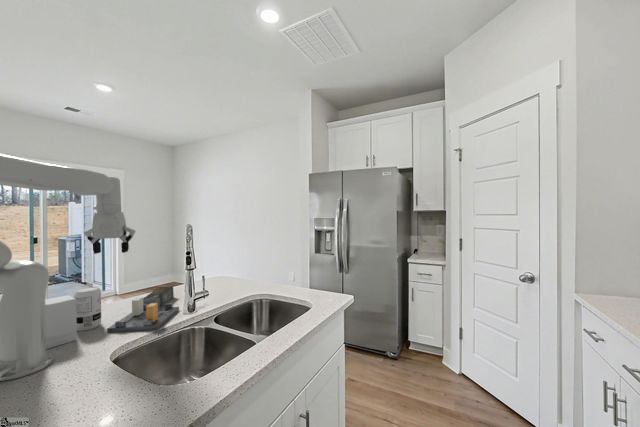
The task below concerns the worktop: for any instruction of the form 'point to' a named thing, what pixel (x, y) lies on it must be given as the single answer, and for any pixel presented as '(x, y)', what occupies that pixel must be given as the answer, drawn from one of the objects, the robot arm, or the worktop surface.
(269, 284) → the worktop surface
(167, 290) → the beverage carton
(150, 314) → the orange fader
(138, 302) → the cream fader
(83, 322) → the supplement can
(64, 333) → the supplement box
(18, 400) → the worktop surface
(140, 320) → the console
